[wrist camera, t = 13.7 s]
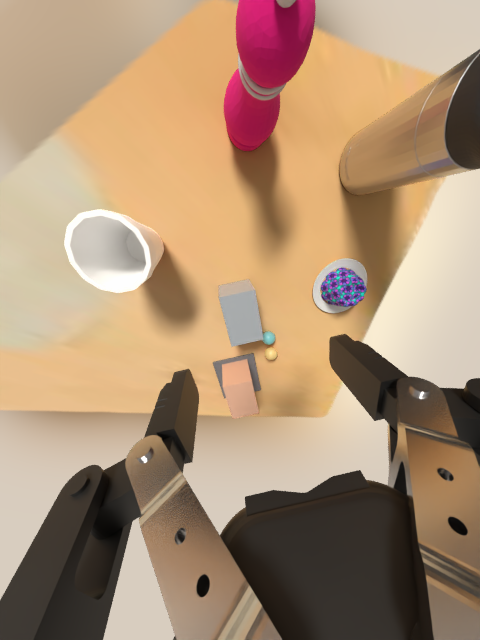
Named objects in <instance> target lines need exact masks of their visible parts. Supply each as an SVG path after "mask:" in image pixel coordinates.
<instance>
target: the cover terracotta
mask: <svg viewBox="0 0 480 640" xmlns="http://www.w3.org/2000/svg"><path fill="white" fill-rule="evenodd" d="M222 380H223V390H224V393H225V396H226V399H227V402H228V405H229V409H230V412H231V415H232V418H233V419H235V418H239V417H244V416H248V415H253V414H257V413H259V410H258V406H257V401H256V397H255V392H254V388H253V383H252V379H251V374H250V370H249V366H248V361H247V359H244V360H240V361H236V362H231V363H227V364H222Z"/></svg>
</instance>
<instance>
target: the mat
mask: <svg viewBox="0 0 480 640" xmlns="http://www.w3.org/2000/svg"><path fill="white" fill-rule="evenodd" d="M244 359H247V361H248V366H249V370H250V374H251V379H252V383H253V388H254V392H255V391H259V390H261V388H260V383H259V378H258V373H257V368H256V363H255V359H254V354H253V353H251V354H247V355H243V356H238V357H234V358H229V359H225V360H221V361H216V362H213V365H214V368H215V371H216V374H217V377H218V380H219V383H220V386H221V389H222V393H223V396H224V398H226V396H225V393H224V390H223V380H222V364H227V363H231V362H236V361H240V360H244Z"/></svg>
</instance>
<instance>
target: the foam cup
mask: <svg viewBox="0 0 480 640" xmlns="http://www.w3.org/2000/svg"><path fill="white" fill-rule="evenodd" d="M64 245H65V248H66V252H67V255H68V258H69V261H70V263H71V265H72V266H73V267H74V268H75V269H76V271H77V272H78V273H79V274H80V276H81V277H82V278H83V279H84V280H86V281H87V282H89V283H91V284H92V285H94V286H96V287H97V288H99V289H101V290H106V291H110V292H115V293H121V292H126V291H131V290H135V289H136V288H137V287H139V286H140V285H141V284H143V283H144V282H145V281H146V280H147V279H149V278H150V277H151V276H152V273H153V271H154V269H155V267H156V266H157V264H158V262H159V261H160V259H161V258H162V255H163V252H164V245H163V241H162V239H161V238H160V236H159V234H158V233H156V232H155V231H154V230H153V229H151V228H149V227H147V226H145V225H143V224H141V223H139V222H136V221H134V220H133V219H132V218H130V217H129V216H126V215H123V214H119V213H116V212H112V211H108V210H101V209H98V210H92V211H87V212H82V213H79V214H78V215H77V216H76V217H75V218H74V219H73V220H72V221H71V222H70V223H69V224H68V225H67V230H66V236H65V241H64Z"/></svg>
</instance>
